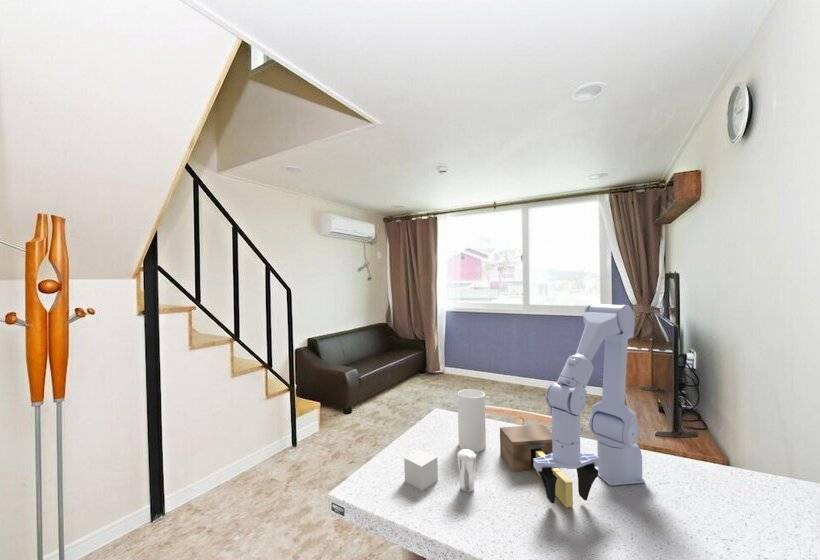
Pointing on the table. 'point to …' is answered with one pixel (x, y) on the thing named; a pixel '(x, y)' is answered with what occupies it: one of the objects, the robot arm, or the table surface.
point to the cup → (471, 420)
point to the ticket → (561, 485)
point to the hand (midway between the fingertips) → (567, 499)
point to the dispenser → (524, 445)
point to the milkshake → (466, 469)
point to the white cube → (421, 469)
